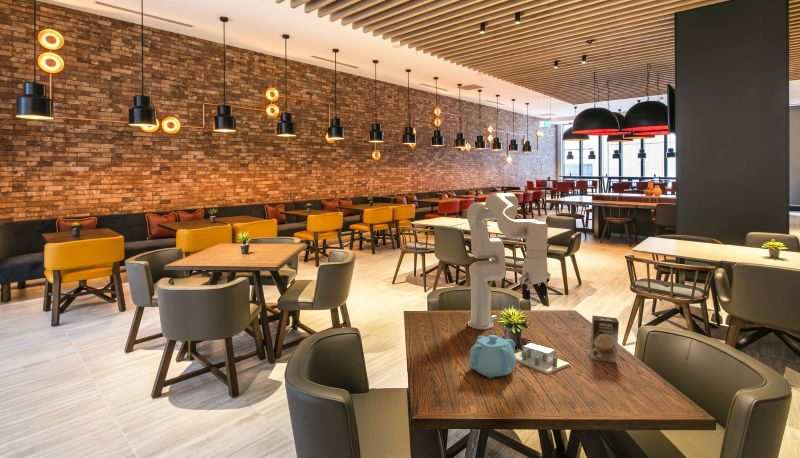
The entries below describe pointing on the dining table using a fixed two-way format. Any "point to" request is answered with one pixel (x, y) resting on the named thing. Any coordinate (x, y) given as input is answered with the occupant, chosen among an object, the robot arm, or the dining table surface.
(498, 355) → the decorative pot
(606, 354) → the coffee box
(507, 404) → the dining table surface
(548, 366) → the pin tray
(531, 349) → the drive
